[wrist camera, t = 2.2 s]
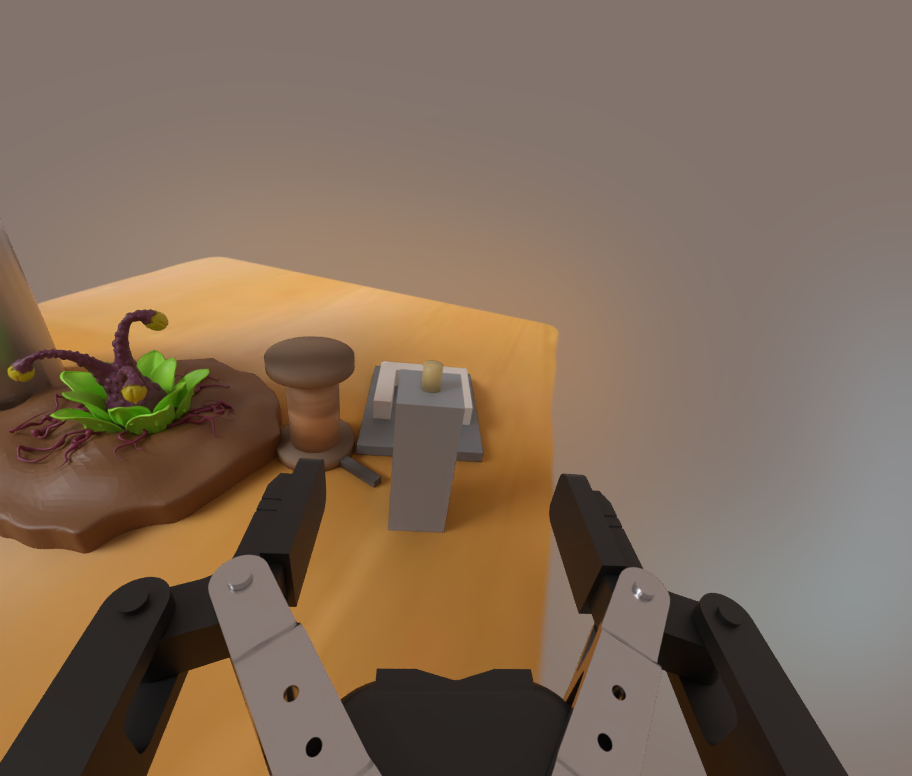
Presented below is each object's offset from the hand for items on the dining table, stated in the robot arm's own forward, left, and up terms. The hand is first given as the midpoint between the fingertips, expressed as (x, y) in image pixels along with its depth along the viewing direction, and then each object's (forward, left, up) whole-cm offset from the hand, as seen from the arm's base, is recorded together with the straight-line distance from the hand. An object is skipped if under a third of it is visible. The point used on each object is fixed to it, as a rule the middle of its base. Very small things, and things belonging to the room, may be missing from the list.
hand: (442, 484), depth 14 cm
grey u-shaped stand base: (-21, +12, -14) cm, 28 cm away
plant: (-26, -10, -15) cm, 32 cm away
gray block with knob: (-10, +6, -14) cm, 18 cm away
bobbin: (-18, +1, -14) cm, 23 cm away
